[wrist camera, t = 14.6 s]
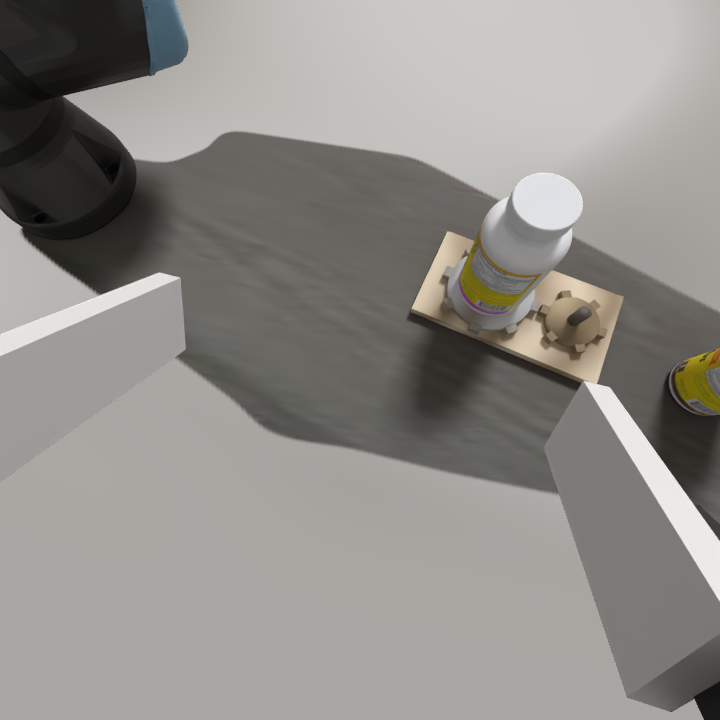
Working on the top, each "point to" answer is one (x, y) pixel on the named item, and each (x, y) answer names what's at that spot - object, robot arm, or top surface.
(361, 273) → the top surface
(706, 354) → the supplement bottle
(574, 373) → the gear board
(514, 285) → the supplement bottle
